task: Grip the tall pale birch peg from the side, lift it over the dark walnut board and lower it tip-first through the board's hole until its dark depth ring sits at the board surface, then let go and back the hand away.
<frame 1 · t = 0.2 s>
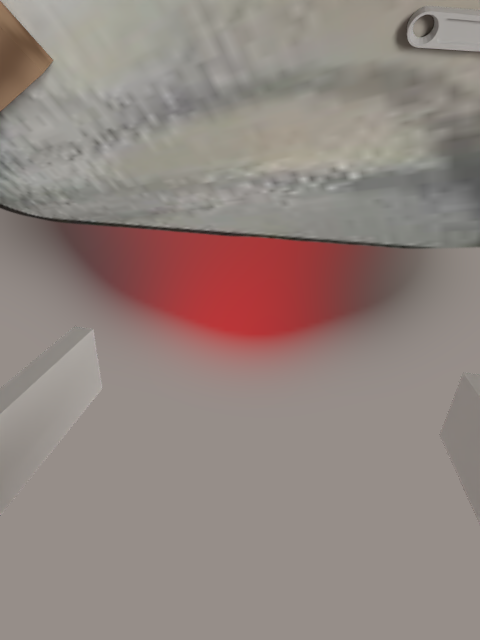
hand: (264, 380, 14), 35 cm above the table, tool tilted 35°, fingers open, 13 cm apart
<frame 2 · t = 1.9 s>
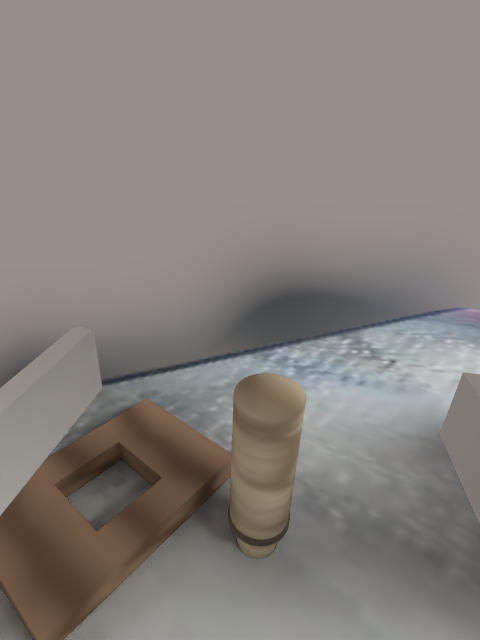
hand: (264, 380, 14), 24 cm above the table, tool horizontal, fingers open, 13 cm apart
walnut board: (112, 498, 36), on the table
birch peg: (256, 537, 33), on the table
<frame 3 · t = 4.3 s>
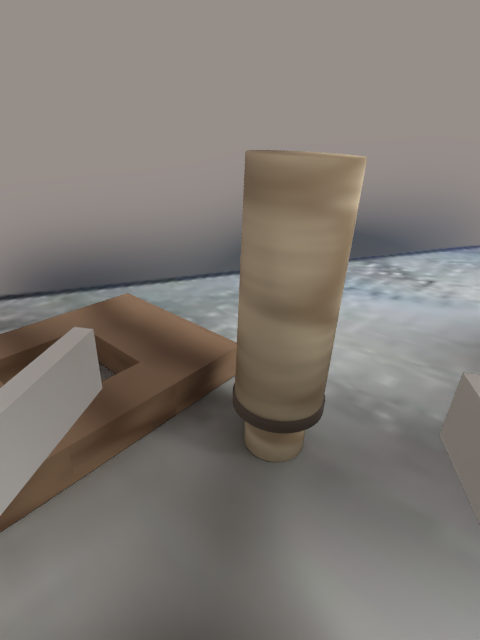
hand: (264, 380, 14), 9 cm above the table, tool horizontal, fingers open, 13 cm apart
walnut board: (70, 393, 26), on the table
birch peg: (273, 438, 23), on the table
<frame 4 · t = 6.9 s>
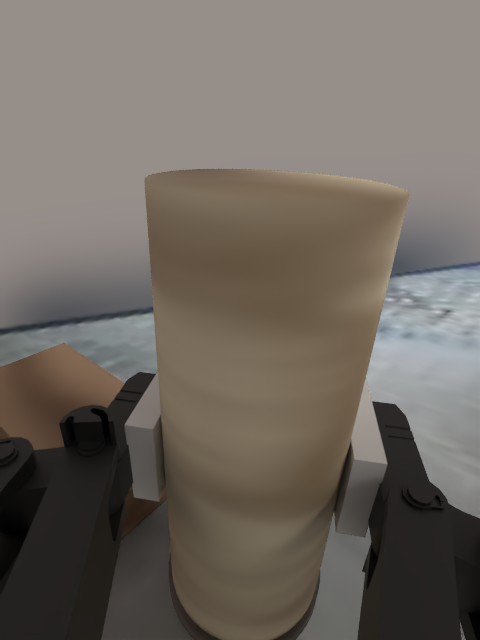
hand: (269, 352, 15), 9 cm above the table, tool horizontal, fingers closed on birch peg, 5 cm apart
birch peg: (240, 612, 15), on the table, touching gripper
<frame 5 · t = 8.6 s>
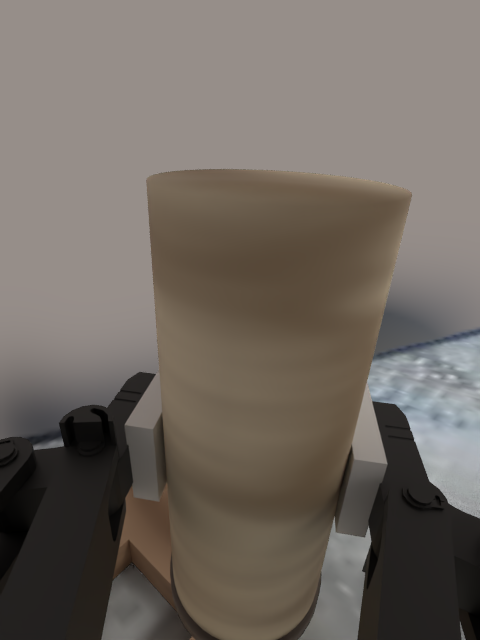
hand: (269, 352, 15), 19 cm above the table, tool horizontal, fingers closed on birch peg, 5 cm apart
birch peg: (241, 612, 15), point 10 cm above the table, touching gripper
when the fingers open (9 cm above the table, at t = 10.8 s): birch peg stays where it is, resting in walnut board.
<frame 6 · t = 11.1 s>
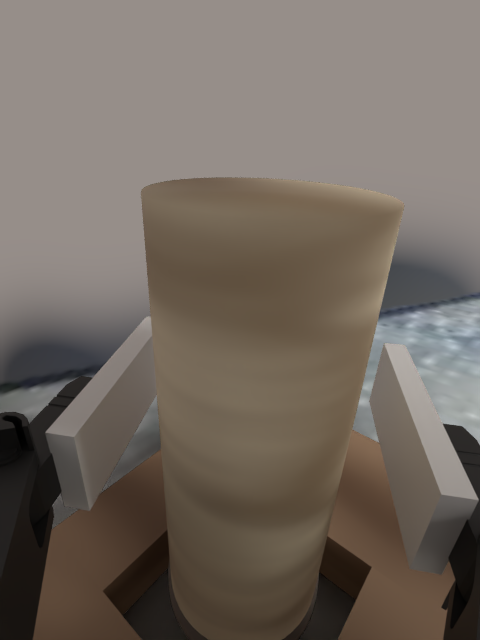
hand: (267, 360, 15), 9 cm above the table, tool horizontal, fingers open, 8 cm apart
walnut board: (239, 614, 15), on the table
birch peg: (239, 616, 15), resting in walnut board
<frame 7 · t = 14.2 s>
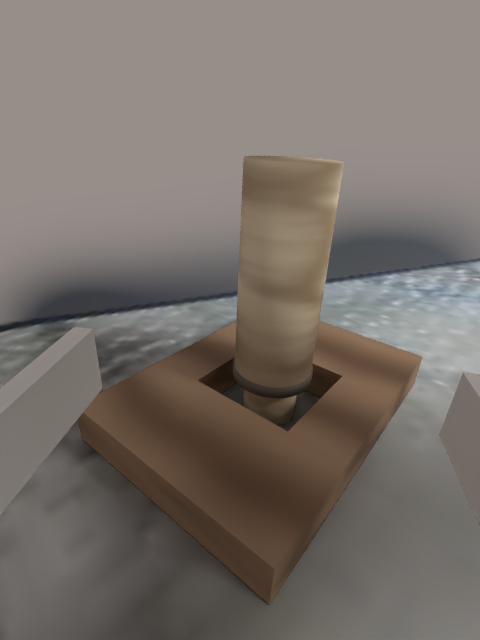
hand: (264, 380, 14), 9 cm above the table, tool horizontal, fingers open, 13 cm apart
walnut board: (268, 407, 26), on the table
birch peg: (268, 407, 26), resting in walnut board
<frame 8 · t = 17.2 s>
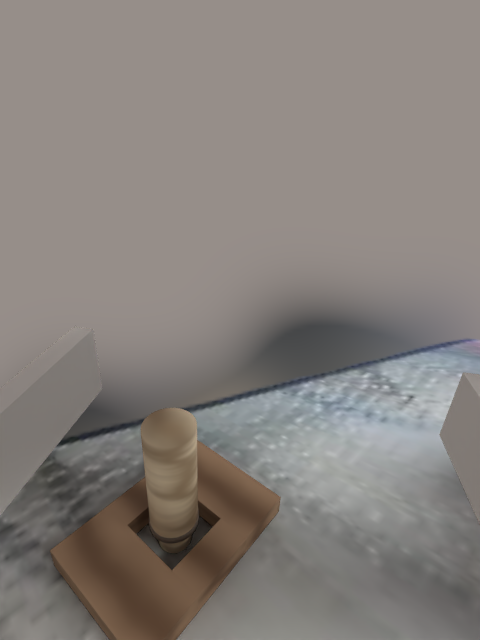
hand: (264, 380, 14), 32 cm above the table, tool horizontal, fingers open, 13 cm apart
walnut board: (175, 536, 41), on the table
birch peg: (175, 536, 41), resting in walnut board
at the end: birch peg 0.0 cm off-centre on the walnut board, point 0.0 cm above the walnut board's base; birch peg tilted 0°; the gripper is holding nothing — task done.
